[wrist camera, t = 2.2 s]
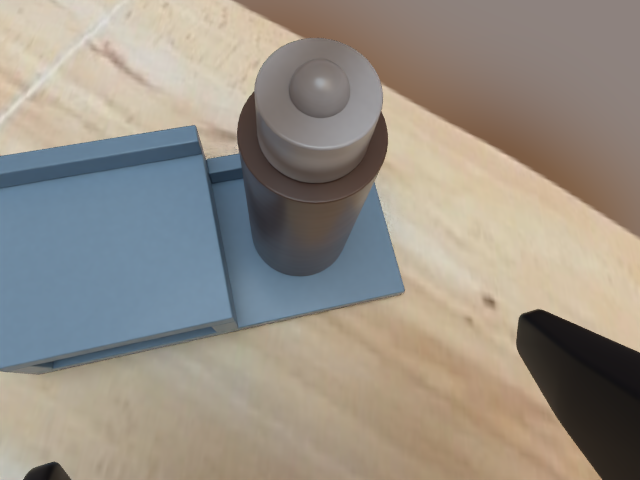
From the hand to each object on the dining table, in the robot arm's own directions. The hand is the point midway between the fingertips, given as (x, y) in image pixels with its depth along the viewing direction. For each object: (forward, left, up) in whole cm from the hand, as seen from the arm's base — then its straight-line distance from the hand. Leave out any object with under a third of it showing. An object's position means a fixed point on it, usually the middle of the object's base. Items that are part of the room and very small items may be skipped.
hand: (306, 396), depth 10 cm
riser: (+7, -3, -14) cm, 16 cm away
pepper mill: (+4, -6, -13) cm, 15 cm away
